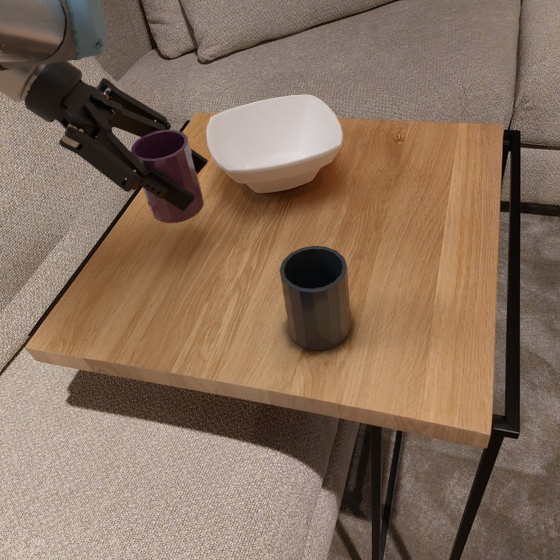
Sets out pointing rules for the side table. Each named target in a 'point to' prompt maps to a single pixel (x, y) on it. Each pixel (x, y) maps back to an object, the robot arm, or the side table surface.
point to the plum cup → (170, 171)
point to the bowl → (275, 141)
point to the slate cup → (316, 297)
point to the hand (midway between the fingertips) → (195, 185)
